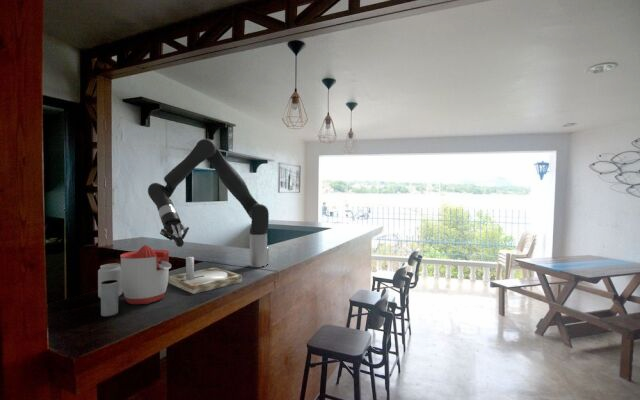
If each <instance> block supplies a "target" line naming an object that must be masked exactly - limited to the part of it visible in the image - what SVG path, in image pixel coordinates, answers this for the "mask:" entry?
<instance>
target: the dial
mask: <svg viewBox="0 0 640 400" xmlns="http://www.w3.org/2000/svg"><path fill="white" fill-rule="evenodd" d="M194 271H195V257H194V256H188V257H187V256H186V257H185V273H186V275H185V276H184V277H183V280H185V281H188V282H190V283H192V284H200V283H205V282H209V281H214V280H218V279H223V278H227V273H226V272H223V271H200V272H194Z"/></svg>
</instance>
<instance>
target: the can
mask: <svg viewBox="0 0 640 400" xmlns="http://www.w3.org/2000/svg"><path fill="white" fill-rule="evenodd" d="M99 267H100V268H99V269H98V270H97V294H98V295H97V296H98V298H99V299H101V282H103V281H107V280H118V298H119V297H120V296H121V295H122V294H124V293H123V290H122V286H121V263H115V262H114V263H107V264H102V265H100V266H99Z"/></svg>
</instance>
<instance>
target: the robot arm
mask: <svg viewBox="0 0 640 400" xmlns="http://www.w3.org/2000/svg"><path fill="white" fill-rule="evenodd" d="M205 160H206V161H207V162H208V163H209V164H210V165H211V167H213V169H214V170H215V173H216V175H217V176H218V178H219V179H220V181H221V182H222V184H223V185H224V186H225V188H226V189H227V191H228V192H230V194H231V195H232V196H233V197H234V199H236V200H237V201H238V202H239V203H240V204H241V206H242V208H243V209H244V210H245V212H246V214H247V216H248V217H249V218H250V219H251V226H250V228H249V267H250V268H263V267H262V266H264V267H267V266H268V265H267V264H269V263H270V262H269V258H270V257H269V256H270V254H269V253H270V252H269V250H270V249H269V247H268V231H269V222H270V221H269V217H270V216H269V215H270V213H269V209H268V207H267V206H266V205H265V204H261V203H259V202H258V201H257V200H256V199H255V198H254V197H253V195H252V194H251V192H250V190H249V188H248V185H247V183H246V182H245V181H244V179H243V178H242V177H241V175H240V174H239V173H238V171H237V170H236V169H235V168H234V167H233V166H232V165H231V164H230V163H229V162H228V160H227V159H226V158H225V157H224V156H223V154H222V152H221V151H220V149H219V147H218V146H217V145H216V143H215V142H214V140H212V139H209V138H202V139H200V140H198V142H197V143H196V145H194V147H193V148H192V150H191V152H189V154H188V155H187V156H186V157H185V158H184V159H183V160H182V161H181V162H179V163H178V164H177V165H176V166H174V168H172V169H171V170H170V171H169V172H168V173H167V174H166V175H165V176H164V177H163V180H164V182H165V184H166V185H163V184H160V183H158V182H153V183H151V184H150V185H148V189H147V195H148V196H149V198H150V199H151V201H152V202H153V203H154V205H155V206H156V208H157V211H158V216H159V219H160V221H161V224H162V226H163V228H162V229H161V230H160V232H159V234H160V235H161V236H163V237H164V238H166V239H167V240H169V241H174V243H175V245H176V246H177V247H178V248H182V247H183V246H184V243H185V241H184V239H185V237H186V236H187V233H188V231H189V229H190V227H189V226H187V227H186V226H184V224H183V223H182V221H181V219H180V216H179V214H178V211H177V209H176V208H175V206H174V203H173V200H172V199H171V197H172V195H173V193H174V192H175V190H176V188H177V187H178V186H179V185H180V184H181V183H182V182H183V181H184V180H185V179H186V178H187V177H188V176H189V175H190V174H191V172H193V170H194V169H196V167H198V166H199V165H200V164H201V163H203V162H204V161H205ZM182 232H183V233H182ZM266 265H267V266H266ZM269 265H270V264H269Z"/></svg>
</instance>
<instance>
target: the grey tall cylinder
mask: <svg viewBox="0 0 640 400" xmlns="http://www.w3.org/2000/svg"><path fill="white" fill-rule="evenodd" d="M118 313H119V297H118V280H107V281H103V282H101V298H100V315H101V317H111V316H115V315H116V314H118Z"/></svg>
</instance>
